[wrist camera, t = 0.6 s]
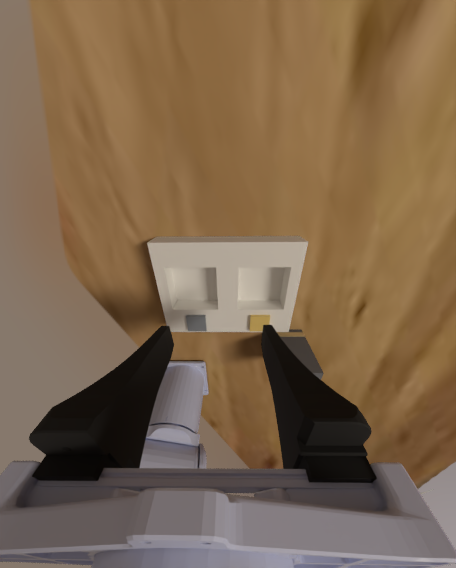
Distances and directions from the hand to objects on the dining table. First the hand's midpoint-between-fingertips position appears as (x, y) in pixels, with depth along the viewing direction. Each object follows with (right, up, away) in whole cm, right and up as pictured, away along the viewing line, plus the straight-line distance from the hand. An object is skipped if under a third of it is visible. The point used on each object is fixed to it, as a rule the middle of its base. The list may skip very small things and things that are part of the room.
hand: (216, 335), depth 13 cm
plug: (+10, -5, +14) cm, 17 cm away
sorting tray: (+1, +4, +9) cm, 10 cm away
